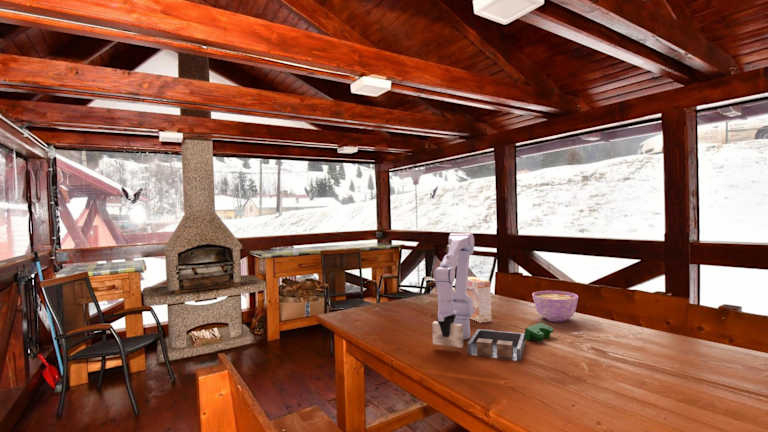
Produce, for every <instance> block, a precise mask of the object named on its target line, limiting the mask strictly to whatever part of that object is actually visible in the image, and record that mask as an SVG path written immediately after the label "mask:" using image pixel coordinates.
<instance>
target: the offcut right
mask: <svg viewBox="0 0 768 432" xmlns="http://www.w3.org/2000/svg"><path fill="white" fill-rule="evenodd" d="M512 356H513V342H511V341H501V340H498V342H497V357H505V358H512Z"/></svg>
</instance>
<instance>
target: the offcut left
mask: <svg viewBox="0 0 768 432" xmlns="http://www.w3.org/2000/svg"><path fill="white" fill-rule="evenodd" d="M492 353H493V340H492V339H482V338H479V339H478V340H477V354H480V355H489V356H491V355H492Z"/></svg>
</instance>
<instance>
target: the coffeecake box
mask: <svg viewBox="0 0 768 432" xmlns="http://www.w3.org/2000/svg"><path fill="white" fill-rule="evenodd" d="M467 295H469V296H470V297H471V298H472V300H473V315H472V316H471V317H470V319H471V320H472V321H474V320H475V322H476V321H477V323H478V322H479V323H478V324H482V322H484V323H488V322H489V323H490V322H492V299H491V281H490V280H488V279H484V278H480V277H476V276H468V281H467ZM462 302H467V301H462Z"/></svg>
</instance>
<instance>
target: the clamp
mask: <svg viewBox="0 0 768 432" xmlns="http://www.w3.org/2000/svg"><path fill="white" fill-rule="evenodd" d="M524 333H525V341H527V342H529V341H530V340H532V341H533V340H534V341H538V342H541V343H542V342H543V341H544V338H545V339H550V337H551V334H553V333H554V327H552V326H550V325H549V324H548V325H547V324H546V323H544V322H542V321H541V322H538V323H535V324H533V325H530V326H527V327H525V329H524Z"/></svg>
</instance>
